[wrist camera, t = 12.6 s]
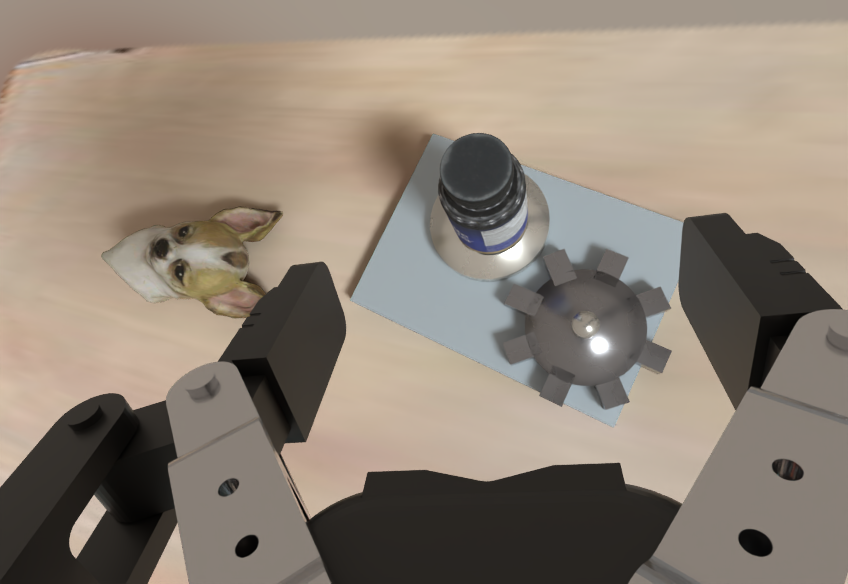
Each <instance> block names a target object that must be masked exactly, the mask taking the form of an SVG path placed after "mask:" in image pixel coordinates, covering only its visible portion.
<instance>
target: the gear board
mask: <svg viewBox="0 0 848 584" xmlns="http://www.w3.org/2000/svg"><path fill="white" fill-rule="evenodd" d="M453 142H454V141H453V140H450V139H447V138H444V137H442V136H439V135H436V134H433V135H432V137H431V139H430V141H429V143H428V145H427V147H426V149H425V151H424V153H423V155H422V157H421V159H420V161H419V163H418V165H417V167H416V169H415V171H414V173H413V175H412V177H411V179H410V181H409V183H408V185H407V187H406V189H405V191H404V193H403V195H402V197H401V199H400V201H399V203H398V205H397V207H396V209H395V211H394V213H393V215H392V217H391V219H390V221H389V223H388V225H387V227H386V229H385V231H384V233H383V235H382V237H381V239H380V241H379V243H378V245H377V247H376V249H375V251H374V253H373V255H372V257H371V259H370V261H369V263H368V265H367V267H366V269H365V271H364V273H363V275H362V277H361V279H360V281H359V283H358V285H357V287H356V289H355V291H354V293H353V295H352V297H351V299H350V301H352V302H354V303H356V304H358V305H360V306H362V307H365V308H367V309H369V310H371V311H373V312H375V313H377V314H379V315H381V316H383V317H385V318H387V319H389V320H391V321H394V322H396V323H398V324H400V325H402V326H404V327H406V328H408V329H410V330H412V331H414V332H416V333H418V334H420V335H423V336H425V337H427V338H429V339H431V340H433V341H435V342H437V343H439V344H441V345H443V346H445V347H447V348H449V349H452V350H454V351H456V352H458V353H460V354H462V355H464V356H466V357H468V358H470V359H472V360H474V361H476V362H478V363H481V364H483V365H485V366H487V367H489V368H491V369H493V370H495V371H497V372H499V373H501V374H503V375H505V376H507V377H510V378H512V379H514V380H516V381H518V382H520V383H522V384H524V385H526V386H528V387H530V388H532V389H534V390H537V391H539V392H541V391H542V389H543V387H544V384H545V382H546V380H547V378H548V376H549V373H547V372H546V371H545V370H544V369H543V368H542V367H541V366H540V365H539V364H538V363H537V361H536V360H535V358H533V359H530V360H527V361H524V362H521V363H518V364H516V365H513V366H511V364H510V362H509V359H508V356H507V354H506V351H505V348H504V345H503V343H504V342H507V341H510V340H512V339H515V338H518V337H521V336H523V335H526V334H525V317H526V316H525V315H523V314H521V313H519V312H516V311H514V310H512V309H510V308H507V307H505V304H504V303H505V301H506V299H507V297H508V294H509V292H510V290H511V288H512V286H513V284H516V285H519V286H521V287H523V288H526V289H528V290H530V291H533V292H535V293H536V292H537V291H538V289H539V288H540V287H541V286H542V285H543V284H545V283H546V282H547V281H548V280H550V277H549V275H548V273H547V270H546V268H545V265H544V263H543V256H546V255H549V254H551V253H554V252H556V251H559V250H562V249H564V248H565V251H566V253H567V255H568V258H569V260H570V262H571V265H572V267H573V269H574V270H577V269H590V270H597V268H598V266H599V264H600V262H601V259H602V257H603V255H604V253H605V251H606V249H608V250H611V251H614V252H616V253H619V254H621V255H624V256H626V257H629V259H628V261H627V263H626V265H625V267H624V270H623V272H622V274H621V276H620V279H619V280H621V281H622V282H623V283H625V284H626V285H627V286H628V287H629V288H630V289H631V290H632V291H633V292H634V293H635V295H638V294H641V293H644V292H646V291H649V290H652V289H655V288H658V287H660V286H661V288H662V290H663V292H664V294H665V297H666V299H667V301H668V303H669V301H670V299H671V297H672V294H673V292H674V290H675V288H676V285H677V283H678V281H679V267H680V254H681V240H682V228H683V222H680V221H678V220H675V219H672V218H669V217H666V216H664V215H661V214H658V213H655V212H652V211H649V210H647V209H644V208H641V207H638V206H635V205H633V204H630V203H627V202H624V201H621V200H619V199H616V198H613V197H610V196H607V195H605V194H602V193H599V192H596V191H593V190H590V189H588V188H585V187H582V186H579V185H576V184H574V183H571V182H568V181H565V180H562V179H560V178H557V177H554V176H551V175H548V174H546V173H543V172H540V171H537V170H534V169H531V168H529V167H526V166H523V165H521V167H522V169H523V171H524V174H526V175H527V176H528V177H530V178H531V179H532V180H533V181H534V182H535V183H536V184H537V185H538V186H539V188H540V189H541V191H542V192H543V194H544V196H545V198H546V201H547V204H548V208H549V217H550V224H549V233H548V238H547V241H546V244H545V246H544V248H543V250H542V252H541V254H540V255H539V256H538V258H537V259H536V260H535V261H534V262H533V263H532V264H531V266H529V267H528V268H527V269H526V270H524V271H523V272H521V273H519V274H518V275H516V276H513V277H511V278H508V279H505V280H501V281H496V282H481V281H475V280H471V279H468V278H466V277H463V276H461V275H460V274H458V273H456V272H455V271H453V270H452V269H451V268H450V267H449V266H448V265H447V264H446V263H445V262H444V261H443V259H442V258H441V257H440V255H439V254H438V252H437V250H436V249H435V246H434V244H433V241H432V238H431V232H430V217H431V212H432V208H433V205H434V203H435V200H436V198H437V197H438V195H439V194H438V183H439V178H440V163H441V160H442V157H443V155H444V153H445V151H446V150H447V148H448V147H449V146H450V145H451V144H452V143H453ZM664 313H665V312H664ZM664 313H661V314H658V315H655V316H652V317H650V318H647V319H646V320H647V338H646V340H648V341H650V342H652V340H653V338H654V335H655V333H656V331H657V329H658V326H659V324H660V322H661V319H662V317H663V315H664ZM640 367H641V366H638V365H636V364H634V366H633V367H632V368H631V369H630V370H629V371H627V372H626V373H625V374H624V375H622V376H620V377H619V378H620V380H621V382H622V385H623V387H624V390H625V392H626V394H627V397H628V394H629V392H630V390H631V388H632V385H633V383H634V381H635V378H636V376H637V374H638V372H639V369H640ZM563 404H566V405H568V406H570V407H572V408H574V409H576V410H578V411H580V412H582V413H584V414H586V415H588V416H590V417H592V418H595V419H597V420H599V421H601V422H603V423H605V424H607V425H609V426H611V427H614V426H615V424H616V422H617V419H618V417H619V415H620V413H621V410H622V408H623V406H624V404H622V405H619V406H616V407H613V408H610V409H607V410H604V409H603V407H602V404H601V402H600V399H599V397H598V395H597V392H596V390H595V387H594V386H578V385H571V387H570V389H569V392H568V394H567V396H566V398H565V400H564V403H563Z"/></svg>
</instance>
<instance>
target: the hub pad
mask: <svg viewBox="0 0 848 584" xmlns="http://www.w3.org/2000/svg"><path fill="white" fill-rule="evenodd" d="M524 175H525V180H526V194H527V208H528V226H527V229H526V231H525V233H524V235H523V237H522V239H521V240H520V241H519V242H518V243H517V244H516V245H515V246H514V247H513V248H512V249H510V250H508V251H506V252H503V253H501V254H498V255H482V254H480V253H478V252H476V251H472V250H470V249H468V248H467V247H466V246H465V245H464V244H463V243H462V242H461V241H460V239H459V238H458V236H457V234H456V232H455V230H454V228H453V226H452V224H451V222H450V220H449V218H448V216H447V214H446V213H445V211H444V209H443V207H442V205H441V202H440V199H439V195H438V197H437V198H436V200H435V203H434V205H433V208H432V212H431V217H430V232H431V238H432V241H433V244H434V246H435V249H436V250H437V252H438V254H439V255H440V257H441V258H442V259H443V261H444V262H445V263H446V264H447V265H448V266H449V267H450V268H451V269H452V270H453V271H455V272H456V273H458V274H460V275H461V276H463V277H466V278H468V279H471V280H475V281H481V282H496V281H501V280H505V279H508V278H511V277H513V276H516V275H518V274H519V273H521V272H523V271H524V270H526V269H527V268H528V267H529V266H531V264H532V263H533V262H534V261H535V260H536V259H537V258H538V256H539V255H540V254H541V252H542V250H543V248H544V246H545V244H546V241H547V238H548V233H549V224H550V217H549V208H548V204H547V201H546V198H545V196H544V194H543V192H542V191H541V189H540V188H539V186H538V185H537V184H536V183H535V182H534V181H533V180H532V179H531V178H530V177H528V176H527V175H526V174H524Z"/></svg>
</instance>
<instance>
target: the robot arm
mask: <svg viewBox="0 0 848 584" xmlns="http://www.w3.org/2000/svg"><path fill="white" fill-rule="evenodd" d="M679 296H680V301H681V305H682V308H683V310H684V312H685V314H686V316H687V318H688V320H689V322H690V324H691V325H692V327H693V329H694V331H695V333H696V335H697V337H698V339H699V341H700V343H701V345H702V347H703V349H704V350H705V352H706V354H707V356H708V358H709V360H710V362H711V364H712V366H713V368H714V370H715V372H716V374H717V376H718V377H719V379H720V381H721V383H722V385H723V387H724V389H725V391H726V393H727V395H728V397H729V399H730V401H731V402H732V404H733V406H734V408H735V410H736V411H735V413H734V415H733V417H732V418H731V420H730V422H729V424H728V425H727V427H726V429H725V431H724V432H723V434H722V436H721V438H720V439H719V441H718V443H717V445H716V446H715V448H714V450H713V452H712V453H711V455H710V457H709V459H708V460H707V462H706V464H705V466H704V467H703V469H702V471H701V473H700V474H699V476H698V478H697V480H696V481H695V483H694V485H693V487H692V488H691V490H690V492H689V494H688V495H687V497H686V499H685V501H684V502H683V504H681V503H680V502H678V501H676V500H674V499H672V498H670V497H667V496H665V495H662V494H660V493H657V492H655V491H652V490H648V489H645V488H642V487H638V486H634V485H629V484H625V482H624V478H623V473H622V469H621V465H620V463H605V464H577V465H553V466H549V467H545V468H541V469H537V470H533V471H530V472H526V473H522V474H518V475H514V476H510V477H506V478H503V479H499V480H495V481H487V482H485V481H478V480H473V479H468V478H463V477H458V476H453V475H448V474H443V473H438V472H433V471H428V470H411V471H383V472H368V473H367V477H366V481H365V485H364V490H363V492H361V493H358V494H355V495H352V496H350V497H347V498H345V499H342V500H340V501H338V502H336V503H334V504H332V505H330V506H329V507H327V508H326V509H324V510H322V511H321V512H319V513H318V514H316V515H315V516H314V517H312V518H311V516H310V514H309V512H308V510H307V508H306V506H305V504H304V501H303V499H302V497H301V495H300V493H299V491H298V489H297V486H296V484H295V482H294V480H293V478H292V476H291V473H290V471H289V469H288V467H287V465H286V463H285V461H284V459H283V457H282V455H281V451H282V448H283V446H284V444H285V443H298V442H306V440H307V438H308V435H309V432H310V430H311V427H312V425H313V422H314V419H315V417H316V414H317V411H318V409H319V406H320V403H321V401H322V398H323V395H324V393H325V390H326V388H327V385H328V382H329V380H330V377H331V374H332V372H333V369H334V366H335V364H336V361H337V358H338V356H339V353H340V351H341V348H342V345H343V343H344V340H345V336H346V321H345V316H344V312H343V309H342V307H341V304H340V301H339V298H338V295H337V292H336V289H335V286H334V283H333V280H332V277H331V274H330V272H329V269H328V267H327V265H326V264H325V263H324V262H315V263H307V264H299V265H293V266H291V267H290V269H289V270H288V272H287V273H286V275H285V276H284V278H283V280H282V281H281V283H280V284H279V286H278V287H274V288H273V289H272V290H270V291H269V292H268V293H267V294H266V295H264V296H263V297H262V298H261V299H259V300H258V302H257V303H256V305H255V306H254V308H253V309H252V311H251V312H250V314H249V315H250V317H247V318H246V320H245V321H244V323H243V324H242V328H240V329H239V330H238V332H237V333H236V335H235V336H234V338H233V339H232V341H231V342H230V344H229V345H228V347H227V348H226V350H225V351H224V353H223V355H222V356H221V358H220V359H219V361H218V362H213V363H209V364H206V365H203V366H200V367H198V368H196V369H194V370H192V371H190V372H189V373H187V374H185V375H184V376H183V377H181V378H180V379H179V380H178V381H177V382H176V383H175V384H174V385H173V386H172V387H171V389H170V390H169V392H168V394H167V397H166V400H165V401H162V402H159V403H156V404H152V405H149V406H146V407H143V408H139V409H136V410H132V408H131V407H130V406H129V404H128V403H127V401H126V400H125V398H124V397H123V396H122V395H120V394H115V393H109V394H103V395H99V396H96V397H93V398H90V399H88V400H86V401H84V402H82V403H80V404H78V405H77V406H75V407H74V408H72V409H71V410H69V411H68V412H67V413H65V414H64V415H63V416H62V417H61V418H60V419H59V420H58V421H57V422H56V423H55V424H54V425H53V426H52V428H51V429H50V430H49V431H48V432H47V433H46V435H45V436H44V437H43V438H42V439H41V440H40V442H39V443H38V444H37V445H36V446H35V447H34V449H33V450H32V451H31V452H30V453H29V454H28V456H27V457H26V458H25V459H24V460H23V461H22V463H21V464H20V465H19V466H18V467H17V469H16V470H15V471H14V472H13V473H12V474H11V476H10V477H9V478H8V479H7V480H6V481H5V483H4V484H3V485H2V486H1V487H0V584H148V582H149V579H150V577H151V575H152V573H153V571H154V569H155V567H156V565H157V563H158V561H159V559H160V557H161V555H162V553H163V551H164V549H165V547H166V545H167V543H168V541H169V539H170V537H171V535H172V533H173V531H174V528H175V526H176V524H177V522H178V527H179V532H180V537H181V543H182V548H183V554H184V559H185V565H186V570H187V575H188V581H189V584H844V583H845V580H846V576H847V573H848V310H843V309H842V308H841V307H840V305H839V304H838V303H837V302H836V301H835V300H834V299H833V298H832V297H831V296H830V295H829V294H828V293H827V292H826V291H825V290H824V289H823V288H822V287H821V286H820V285H819V284H818V283H817V282H816V280H815V279H814V278H813V277H812V276H811V275H810V274H809V273H806V272H805V269H804V268H803V267H802V266H801V265H800V264H799V263H798V262H797V261H794V258H793V256H792V255H791V254H790V253H789V252H788V251H787V250H786V249H785V248H784V247H783V246H782V245H781V244H780V243H778V242H775V241H773V240H771V239H769V238H767V237H765V236H763V235H761V234H759V233H752V234H745V233H744V232H743V230H742V229H741V228H740V227H739V226H738V225H737V224H736V222H735V221H734V220H733V219H732V218H731V217H730V216H729V215H728V214H727V213H720V214H712V215H704V216H696V217H688V218H686V219H685V220H684V223H683V228H682V240H681V254H680V267H679ZM93 495H95V496H96V498H97V499H98V500H99V501H100V502H101V503H102V505H103V506H104V507H105V508H106V509H107V511H106V512H105V514H104V515H103V517H102V519H101V520H100V522H99V523H98V525H97V527H96V528H95V530H94V531H93V533H92V535H91V536H90V538H89V539H88V541H87V542H86V544H85V546H84V547H83V549H82V550H81V552H80V554H79V555H78V557H77V558H75V557H74V556H73V555H72V553H71V551H70V547H69V538H70V533H71V530H72V527H73V525H74V524H75V522H76V520H77V519H78V517H79V516H80V514H81V513H82V511H83V510H84V508H85V507H86V506H87V504H88V503H89V501H90V500H91V498H92V497H93Z"/></svg>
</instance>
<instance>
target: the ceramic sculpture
mask: <svg viewBox="0 0 848 584" xmlns="http://www.w3.org/2000/svg"><path fill="white" fill-rule="evenodd" d="M282 216H283V212H282V211H267V210H261V209H254V208H252V209H250V208H247V207H236V208H234V209H224V210H222V211H220V212H218V213H217V214H215V215H214V216H213V217H212V218H211V219H210V220H208V221H195V222H183V223H179V224H177V225H175V226H173V227H171V228H167V227H165V226H161V225H154V226H152V227H151V228H146V229H142V230H139V231H137V232H135V233H133V234H131V235H130V236H127V237H126V238H124V239H123V240H122V241H120V242H119V243H118V244H117V245H115V246H114V247H113V248H111V249H110V250H108V251H105V252H103V253H102V256H101V257H102V259H103V260H104V261H105V262H106V263H107V264H109V265H110V266H111V268H112V269H113V270H114V271H115V272H116V274H118V275H119V276H120V277H121V278H122V279H123V280H124V281H125V282H126V283H127V284H128V285H129V286H130V287H131V288H132V289H133V290H134V291H136V292H137V293H139V294H140V295H141V296H142V297H143V298H144V299H145V300H146V301H148V302H151V303H159V302H164V301H166V300H169V299H171V298H175V299H192V298H194V299H197V300H199V301H200V302H202V303H203V304H204V305H205V307H206V308H207V309H208V310H210V311H212V312H213V313H215V314H216V315H223V316H228V317H231V318H247V317H250V315H249V314H250V312H251V311H252V309H253V308H254V306H255V305H256V303H257V302H258V300H259V299H261V298H262V297H263V296H264V295H266V294H265V292H264V291H263V290H262V289H261V287H259V286H257V285H256V284H251V283H248V282H245V281H243V280H244V278H245V276H246V274H247V271H248V267H249V257H248V253H247V250H246V248H245V247H244V246H243V242H244V241H249V242H256V241H260V240H262V239H263V238H264V237H265V236H266V235H267V234H268V233H269V232H270V230H271V229H272V228H273V227H274V225H275V224H276V223H277V222H278V221H279V220H280V218H281V217H282Z"/></svg>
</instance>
